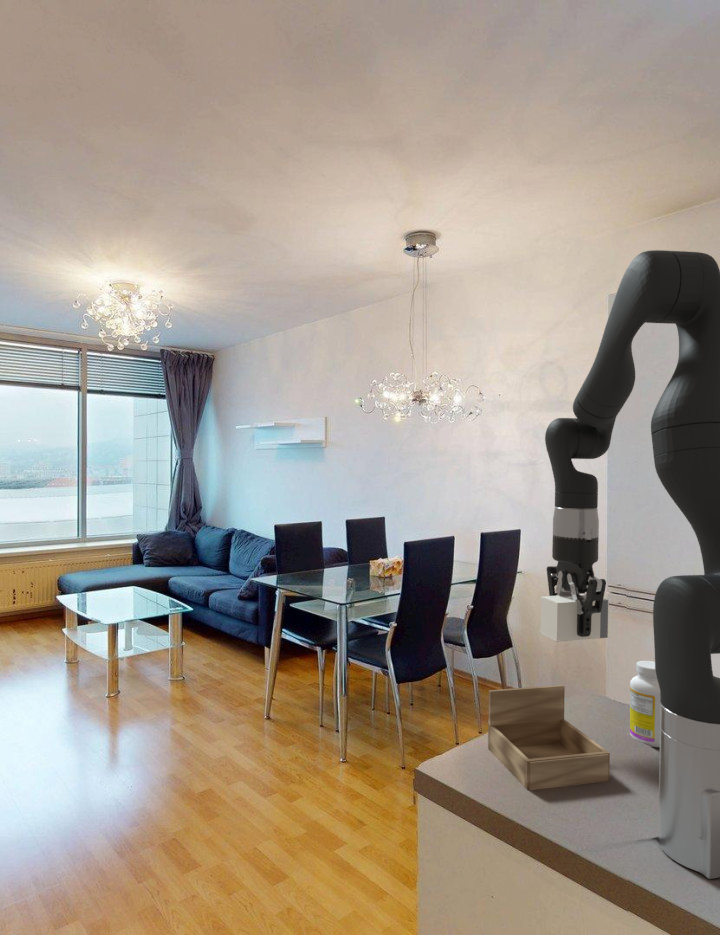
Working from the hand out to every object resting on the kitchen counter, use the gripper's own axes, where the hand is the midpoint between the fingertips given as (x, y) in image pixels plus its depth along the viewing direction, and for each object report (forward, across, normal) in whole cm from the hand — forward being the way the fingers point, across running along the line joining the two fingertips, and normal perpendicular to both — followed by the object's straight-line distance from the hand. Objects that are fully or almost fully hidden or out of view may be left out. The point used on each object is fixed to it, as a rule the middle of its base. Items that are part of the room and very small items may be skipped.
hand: (573, 630), depth 108 cm
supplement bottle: (+18, +6, +11) cm, 22 cm away
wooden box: (+18, +10, -11) cm, 23 cm away
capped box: (+1, 0, 0) cm, 1 cm away
